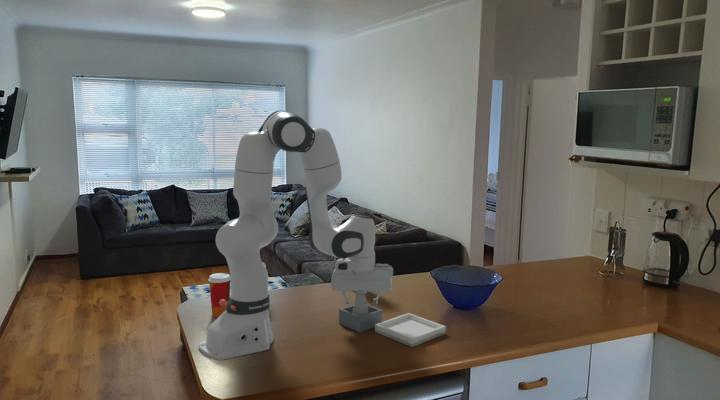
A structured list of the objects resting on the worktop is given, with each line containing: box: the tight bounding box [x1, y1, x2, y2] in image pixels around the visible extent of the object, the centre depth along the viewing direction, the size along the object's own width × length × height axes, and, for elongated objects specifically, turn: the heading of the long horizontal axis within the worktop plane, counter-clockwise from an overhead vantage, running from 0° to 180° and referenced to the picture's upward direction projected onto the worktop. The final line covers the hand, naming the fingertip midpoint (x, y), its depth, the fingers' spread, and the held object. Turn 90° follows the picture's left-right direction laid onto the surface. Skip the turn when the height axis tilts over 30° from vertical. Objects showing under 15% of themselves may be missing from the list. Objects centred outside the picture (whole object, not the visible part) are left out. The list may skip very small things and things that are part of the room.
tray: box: [374, 312, 447, 348], centre depth 177 cm, size 16×16×2 cm
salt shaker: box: [353, 290, 369, 316], centre depth 183 cm, size 6×6×13 cm
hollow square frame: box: [338, 304, 383, 333], centre depth 184 cm, size 10×10×5 cm
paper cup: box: [207, 272, 231, 319], centre depth 190 cm, size 8×8×14 cm
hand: (361, 303), depth 183 cm, fingers open, 8 cm apart
